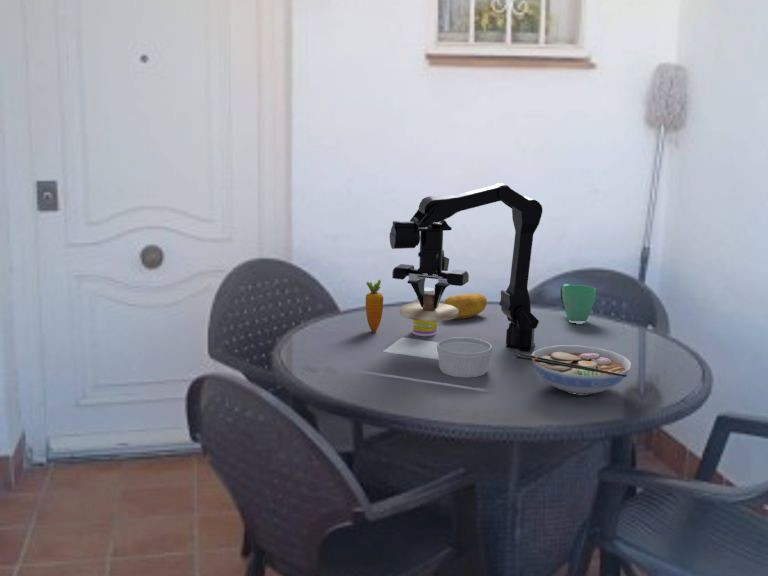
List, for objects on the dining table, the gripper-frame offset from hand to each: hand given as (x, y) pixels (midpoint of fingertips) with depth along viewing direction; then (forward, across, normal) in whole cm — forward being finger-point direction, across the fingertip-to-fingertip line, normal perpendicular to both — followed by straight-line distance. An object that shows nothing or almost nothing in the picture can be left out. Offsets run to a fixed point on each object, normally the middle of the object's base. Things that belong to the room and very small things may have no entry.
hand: (429, 307), depth 236 cm
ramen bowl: (+12, -41, +12) cm, 44 cm away
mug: (+12, -28, -49) cm, 58 cm away
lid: (+2, 0, 0) cm, 2 cm away
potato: (+12, +2, -37) cm, 39 cm away
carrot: (+12, +19, -10) cm, 25 cm away
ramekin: (+12, -13, +11) cm, 21 cm away
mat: (+12, +1, -1) cm, 12 cm away
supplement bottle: (+12, +6, -15) cm, 20 cm away
